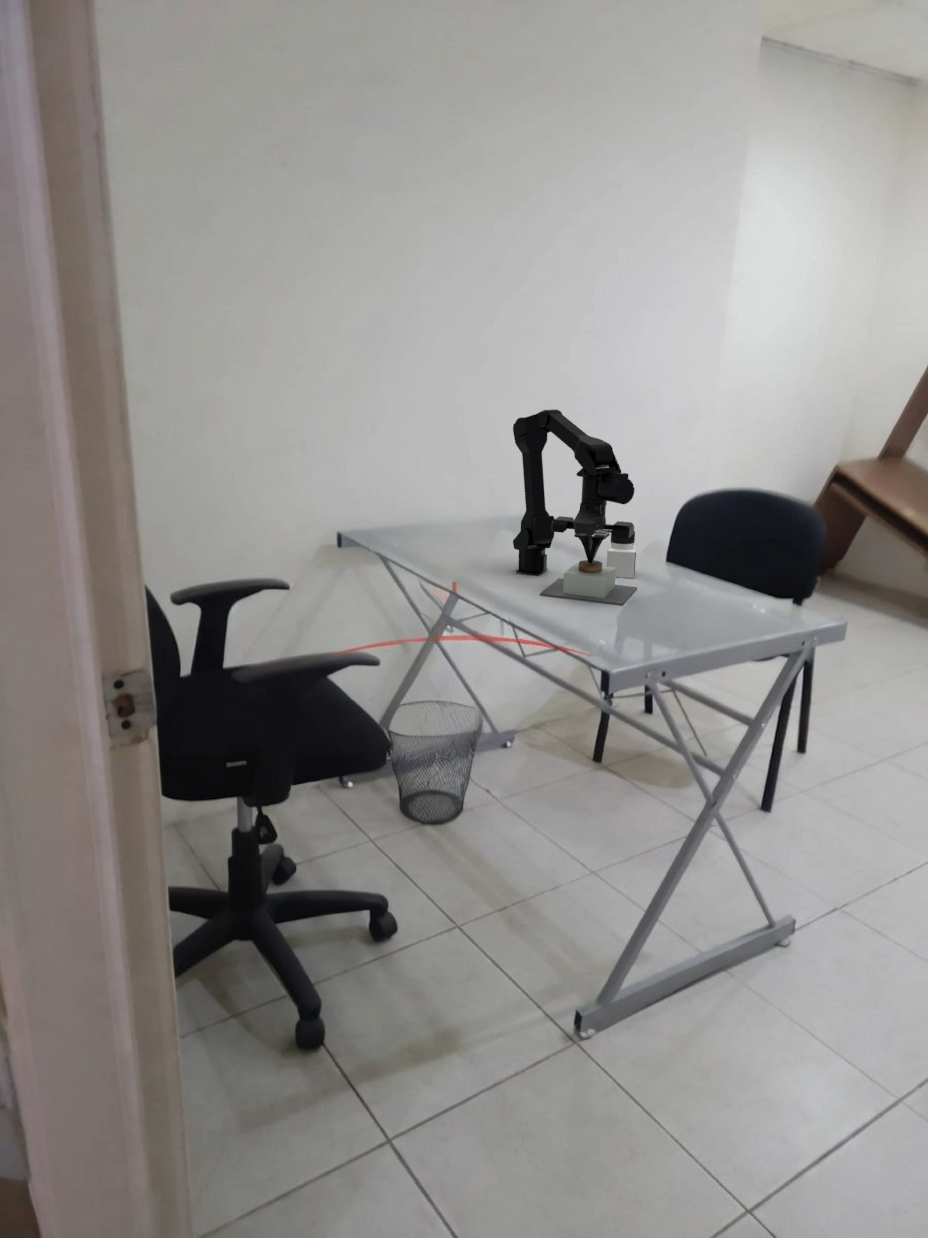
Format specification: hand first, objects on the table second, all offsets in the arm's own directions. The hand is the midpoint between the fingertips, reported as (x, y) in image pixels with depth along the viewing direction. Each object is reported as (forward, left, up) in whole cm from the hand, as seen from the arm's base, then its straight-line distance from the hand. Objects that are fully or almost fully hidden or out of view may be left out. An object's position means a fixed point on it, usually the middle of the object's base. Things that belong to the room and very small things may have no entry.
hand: (590, 562), depth 205 cm
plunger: (0, 0, -8) cm, 8 cm away
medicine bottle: (+3, +20, -8) cm, 21 cm away
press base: (0, 0, -7) cm, 7 cm away
